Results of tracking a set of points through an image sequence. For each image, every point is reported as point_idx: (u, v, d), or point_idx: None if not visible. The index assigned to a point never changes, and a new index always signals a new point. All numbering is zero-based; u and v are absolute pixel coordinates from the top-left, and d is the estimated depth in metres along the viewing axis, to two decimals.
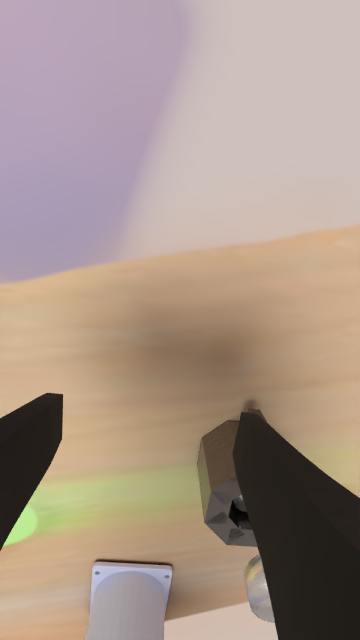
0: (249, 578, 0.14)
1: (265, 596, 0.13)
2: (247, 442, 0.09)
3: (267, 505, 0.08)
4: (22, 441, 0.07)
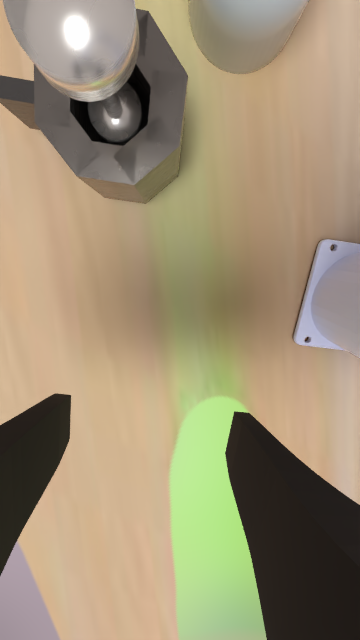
0: (64, 87, 0.08)
1: (58, 45, 0.07)
2: (239, 441, 0.09)
3: (257, 504, 0.08)
4: (33, 442, 0.07)
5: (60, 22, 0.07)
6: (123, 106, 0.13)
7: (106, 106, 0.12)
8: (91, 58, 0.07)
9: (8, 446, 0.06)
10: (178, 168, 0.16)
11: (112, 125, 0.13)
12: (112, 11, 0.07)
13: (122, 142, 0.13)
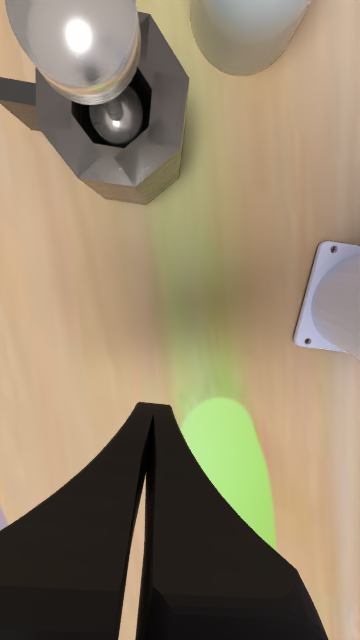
0: (65, 90, 0.08)
1: (61, 49, 0.07)
2: (151, 433, 0.09)
3: (149, 496, 0.07)
4: (144, 452, 0.08)
5: (62, 26, 0.07)
6: (124, 108, 0.13)
7: (107, 108, 0.12)
8: (93, 62, 0.07)
9: (138, 457, 0.07)
10: (179, 170, 0.16)
11: (113, 127, 0.13)
12: (114, 15, 0.07)
13: (123, 145, 0.13)
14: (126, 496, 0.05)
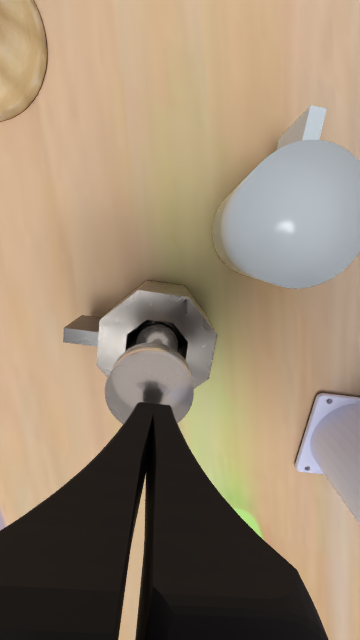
0: None
1: None
2: (151, 433, 0.09)
3: (149, 496, 0.07)
4: (144, 452, 0.08)
5: None
6: (164, 342, 0.16)
7: None
8: None
9: (138, 457, 0.07)
10: None
11: None
12: (178, 399, 0.11)
13: None
14: (126, 496, 0.05)
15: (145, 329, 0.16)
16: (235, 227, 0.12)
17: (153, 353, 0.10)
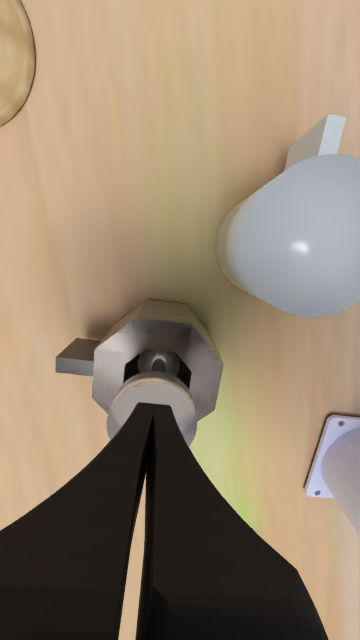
0: None
1: None
2: (151, 433, 0.09)
3: (150, 496, 0.07)
4: (144, 452, 0.08)
5: None
6: (165, 362, 0.16)
7: None
8: None
9: (138, 457, 0.07)
10: None
11: None
12: (182, 430, 0.10)
13: None
14: (126, 496, 0.05)
15: (146, 349, 0.15)
16: (244, 251, 0.11)
17: (156, 386, 0.10)
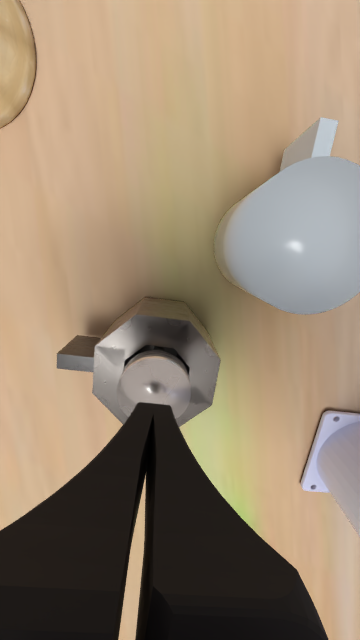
0: None
1: None
2: (151, 433, 0.09)
3: (149, 496, 0.07)
4: (144, 452, 0.08)
5: None
6: (165, 347, 0.18)
7: None
8: None
9: (138, 457, 0.07)
10: None
11: None
12: (178, 397, 0.13)
13: None
14: (126, 496, 0.05)
15: None
16: (240, 250, 0.11)
17: (157, 360, 0.12)
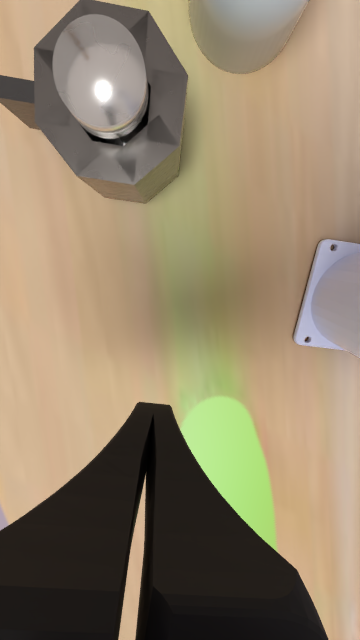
0: (93, 130, 0.11)
1: (91, 103, 0.10)
2: (151, 433, 0.09)
3: (149, 496, 0.07)
4: (144, 452, 0.08)
5: (93, 87, 0.10)
6: (133, 133, 0.16)
7: None
8: (114, 112, 0.10)
9: (138, 457, 0.07)
10: (178, 168, 0.16)
11: None
12: (130, 80, 0.10)
13: None
14: (126, 496, 0.05)
15: None
16: None
17: None
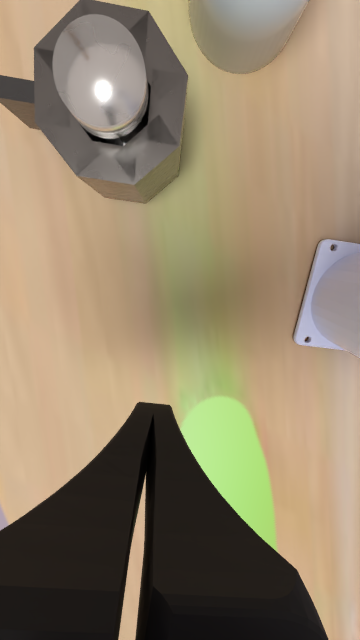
0: (93, 130, 0.11)
1: (91, 103, 0.10)
2: (151, 433, 0.09)
3: (149, 496, 0.07)
4: (144, 452, 0.08)
5: (93, 87, 0.10)
6: (133, 133, 0.16)
7: None
8: (114, 112, 0.10)
9: (138, 457, 0.07)
10: (178, 168, 0.16)
11: None
12: (130, 80, 0.10)
13: None
14: (126, 496, 0.05)
15: None
16: None
17: None
